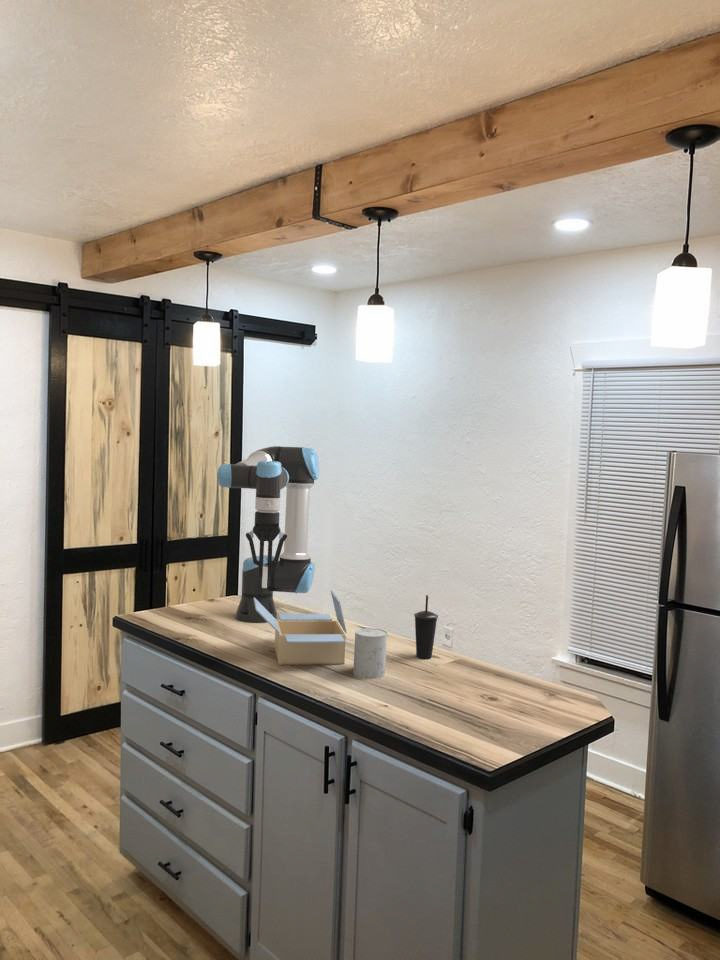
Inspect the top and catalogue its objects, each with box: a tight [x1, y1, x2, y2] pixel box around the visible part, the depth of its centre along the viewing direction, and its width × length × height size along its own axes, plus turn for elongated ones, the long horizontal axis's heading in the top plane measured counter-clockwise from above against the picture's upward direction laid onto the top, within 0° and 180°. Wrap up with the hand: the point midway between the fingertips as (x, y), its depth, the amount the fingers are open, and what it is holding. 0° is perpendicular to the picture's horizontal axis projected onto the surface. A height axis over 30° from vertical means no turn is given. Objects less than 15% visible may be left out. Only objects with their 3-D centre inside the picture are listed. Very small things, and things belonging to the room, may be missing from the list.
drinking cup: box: [413, 594, 439, 660], centre depth 244 cm, size 8×8×20 cm
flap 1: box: [253, 598, 280, 633], centre depth 237 cm, size 17×10×1 cm
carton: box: [274, 613, 347, 666], centre depth 240 cm, size 34×20×9 cm, turn 10°
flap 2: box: [330, 589, 347, 634], centre depth 241 cm, size 17×10×1 cm
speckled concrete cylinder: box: [352, 627, 388, 680], centre depth 225 cm, size 10×10×12 cm
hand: (264, 587), depth 236 cm, fingers closed
